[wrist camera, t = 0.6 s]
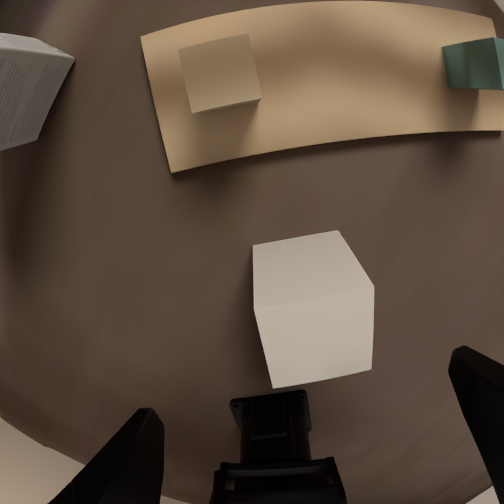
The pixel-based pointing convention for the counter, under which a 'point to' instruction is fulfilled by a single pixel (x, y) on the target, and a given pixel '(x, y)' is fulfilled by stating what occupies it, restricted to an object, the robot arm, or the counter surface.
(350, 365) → the white rectangular block
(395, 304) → the counter surface
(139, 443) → the robot arm
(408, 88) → the stand
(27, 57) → the skincare box
